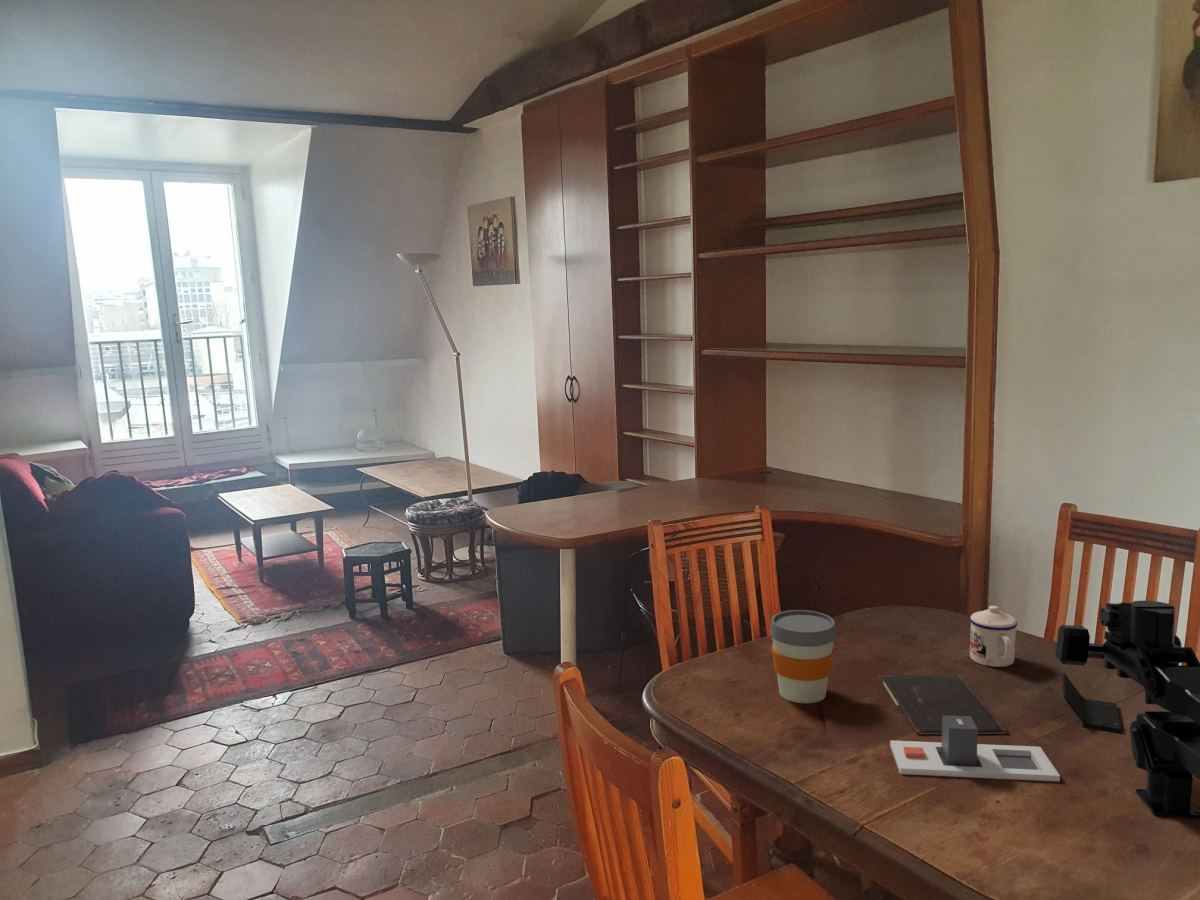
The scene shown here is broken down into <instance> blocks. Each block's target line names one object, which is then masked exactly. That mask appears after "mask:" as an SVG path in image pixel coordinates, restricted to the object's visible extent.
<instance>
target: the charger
mask: <svg viewBox="0 0 1200 900" xmlns="http://www.w3.org/2000/svg"><path fill="white" fill-rule="evenodd" d="M978 735H979V734H978V729H977V727H976V725H975V723H974V722H973V720H972V718H971V716H945V715H943V718H942V734H941V743H942V746H941V755H942V757H943V760H944V762H945V764H946V766H967V767H976V763H977V744H978V739H979V737H978ZM977 764H978V763H977Z"/></svg>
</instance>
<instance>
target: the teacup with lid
mask: <svg viewBox="0 0 1200 900" xmlns="http://www.w3.org/2000/svg"><path fill="white" fill-rule="evenodd" d="M969 622H970V633H969V634H970V639H969V640H970V641H969V657H970V659H971V660H972V661H973V662H975V663H977V664H979V665H983V666H985V667H986V666H987V667H995V668H1004V667H1009V666H1011V665H1013V664H1014V662H1015V655H1016V654H1015V650H1016V630H1017V629H1016V628H1017V626H1018V621H1017V620H1016V618H1015V617H1013V616H1012V615H1010V614H1008V613H1005V612H1003V611H1001V610H1000V608H999V606H997V605H989V606H988V609H984V610H979V611H976V612H974V613H972V614H971V615H970V617H969Z"/></svg>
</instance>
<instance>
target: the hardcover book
mask: <svg viewBox="0 0 1200 900" xmlns="http://www.w3.org/2000/svg"><path fill="white" fill-rule="evenodd" d="M880 677H881V678H882V681H883V682H882V684H883V686H884V687H885V689H886V690H887V692H888V694H889V696H890V697H891V699H892V700H893V701H894V703H895V705H896V706H899V708H900V709H901V710H902V712H903V714H904V715H905V717H906V718H907V719H908V722H909V723H910V725H911V726H912V728H913V730H914V731H915V733H917V734H918V735H942V718H943V715H945V716H971V718H972V720H973V722H974V723H975V725H976V727H977V729H978V735H981V734H982V735H983V734H985V735H987V734H991V735H992V734H994V735H995V734H996V735H999V734H1000V735H1001V734H1008V735H1010V734H1011V733H1010V732H1009V730H1008V729H1007V727H1005V725H1004V724H1003V723H1002V722H1001V721H1000V719H998V717H997V716H996V715H995V714H994V712H993V711H992V710H991V709H990V708H989V706H988V705H987V704H986V703H985V702H984V701H983V700H982V698H981V697H980V696H979V695H978V694H977V692H976V691H975V690H974V689H973V688H972V687H971V685H970V684H969V683H968V682H967V681H966V679H965V678H964V677H963V676H962V675H961V674H888V675H887V674H884V675H883V674H882V675H880Z"/></svg>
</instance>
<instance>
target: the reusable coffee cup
mask: <svg viewBox="0 0 1200 900" xmlns="http://www.w3.org/2000/svg"><path fill="white" fill-rule="evenodd" d="M836 632H837V631H836V622H835V619H834V618H833V617H831V616H830V615H827V614H825V613H822V612H819V611H814V610H807V609H806V610H805V609H804V610H803V609H794V610H793V609H792V610H785V611H780V612H778V613H776V614H774V615H773V616H772V618H771V622H770V630H769V634H770V636H771V638H772V644H771V653H772V655H771V656H772V663H773V669H774V671H775V672H776V676H777V683H778V692H779V695H780V696H781V697H782V698H783V699H785V700H787V701H790V702H794V703H796V704H797V703H798V704H813V703H814V704H815V703H818V702H819V703H820V702H821V701H823V700H824V699H825V698H826V696H827V688H828V680H829V676H830V675H831V674H832V669H833V662H834V656H835V647H834V641H835V639H836V638H837V633H836Z"/></svg>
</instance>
